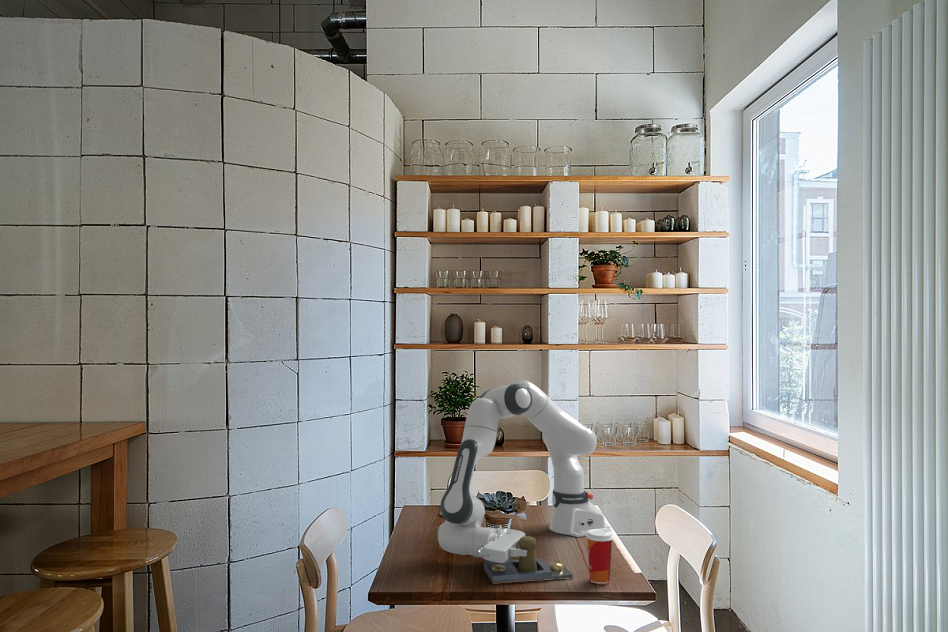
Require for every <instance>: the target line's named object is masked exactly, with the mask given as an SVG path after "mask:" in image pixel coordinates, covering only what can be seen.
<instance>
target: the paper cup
mask: <svg viewBox="0 0 948 632" xmlns="http://www.w3.org/2000/svg"><path fill="white" fill-rule="evenodd" d="M585 537H586V538H587V540H586V541H587V555H588V572H589V581H590V580H592V581H595V582H607V581H609V582H610V579H611V565H612V564H611V562H612V547H613V545H612V544H613V540H614V536H613V534H612V531H611V532H610V531H606V530H602V529H592V530H589V531H588V534H587V535H586V536H585Z"/></svg>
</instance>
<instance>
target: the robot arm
mask: <svg viewBox="0 0 948 632" xmlns="http://www.w3.org/2000/svg"><path fill="white" fill-rule="evenodd" d="M467 411H468V412H467V415H466V418H465V423H464V428H463V432H462V433H463V434H462V438H461V443H460V445H459V448H458V451H457V453H456V458H455V461H454V465H453V469H452V474H451V476H450V477H451V478H450V481H449V485H448V487H447V489H446V490H445V492H444V494H443V495H442V498H441V500H440V505H439V507H440V512H441V513H442V515H441V516H442V518H443V519H444V520H445V521H444V522H443V523H441V524H440V525H439V527H438V530H437V542H438V544H439V547H440V548H441V549H442V550H443V551H446V552H448V553H452V554H456V555H461V556H466V555H467V556H469V555H470V556H473V557H475V558H482V559H484V560H485V561H487V562H496V563H505V562H506V561H509V560H510V558H513V557H515V558H516V557H520V556H524V557H525V556H527V554H528V550H527V549H523V548H522V549H521V548H520V546H519V540H520V538H521V537H524V536H526V533H525V532H523V531H521V530H519V529H512V528H505V527H504V528H503V527H502V526H501V525H494V526H490V527H483V526H482V525H483V523H484V519H485V516H486V515H485V513H486V508H485V505H484V503H483V502H482V500H481V499H480V498H478V497H476V496H475V495H472V494H471V490H470V489H471V483H472V479H473V474H474V472H475V468H476V467H475V466H476V464H477V462H478V461H479V460H481V459H482V458H485V457H487V456H489V455H490V454H491V453H493V450H494V447H495V445H496V441H497V436H498V427H499V425H498V424H499V421H500V420H502V419H509V418H511V417H515V416H521V415H523V417H525V418H526V419H527V420H528V421H529V422H530V423H531V424H532V425H533V426H534V427H535V428H537V430H538V431H540V432H542V434H541V435H542V440H543V442H544V444H545V446H546V447H547V449H548V453H549V456H550V459H551V462H552V468H553V490H552V495H551V497H552V499H551V503H552V514H551V520H550V524H549V531H551V532H554V533H556V534H561V535H567V536H571V537H575V538H576V537H577V538H580V537H586V535H587V534H588V531H589V530H592V529H602V530H606V531H611V532H612V529H610V528H611V526H610V525H609V524H608V523H606V521H605V517H604V514H603V512H602V511H601V510H600V509H599V508H598V507H596V506H595V505H594V504H593V503H592V502H591V501H589V500H593V498H594V495H593V494H592V493H591V492H587V491H586V490H585V488H584V487H585V483H584V482H585V475H584V474H585V473H584V468H583V466H582V465H581V463H580V461H579V460H578V457H586V456H590V455H591V454H593V453H594V451H595V450H596V449H597V448H596V447H597V444H598V439H597V435H596V434H595V432H594V431H593V430H592V429H590V428H588V427H587V426H585V425H584V424H582V423H581V422H580V421H578V420H577V419H575V418H574V417H573V416H571V415H570V414H568V413H567V412H566V411H564V410H563V409H562V408H561V407H559V406H558V405H557V404H556V403H555V402H554V401H553V400H552V399H551V398H550V397H549V396H548V395H547V394H546V393H545V392H544V391H543V390H542V389H541V388H539V386H537V385H535V384H534V383H533V382H531V381H529V380H519V381H518V382H516V383H513V384H508V385H502V386H498V387H495V388H493V389H488V390H485V391H484V392H483V393H482V394H481V395H480V396H479V398H475V399H474V400H473V401H472V402H471V404H470V406H469V409H468V410H467ZM484 515H485V516H484ZM607 524H608V525H609V526H608V525H607Z"/></svg>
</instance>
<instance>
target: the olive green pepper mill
mask: <svg viewBox="0 0 948 632" xmlns="http://www.w3.org/2000/svg"><path fill="white" fill-rule="evenodd" d="M519 546H520V549H522V548H523V549H527V550H528V554H527V556H525V557H524V556H519V559H518V560H519V566H518V570H517V571H518V572H526V571H538V570H537V565H536V559H537V557H536V550H535V549H536V547H537V540H536V538H534V537H533V536H528V535H527V536H526V535H525V536H524V537H521V538H520V540H519Z"/></svg>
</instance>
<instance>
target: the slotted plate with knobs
mask: <svg viewBox="0 0 948 632" xmlns="http://www.w3.org/2000/svg"><path fill="white" fill-rule="evenodd" d="M536 565H537V569H538V570H539V571H538V570H537V571H526V572H518V570H516V569H518V566H519V559H511V560H510V559H508V560H507V561H506V562H505V563H496V562H492V561H484V562H483V571H484V570H485V571H484V572H486V573H487V574H486V573H485V574H486V576H487V575H488V576H487V577H488V579H489V578H490V579H491V581H492V582H493V583H499V582H509V581H527V580H528V581H529V580H544V579H559V578H574V576H573V574H572V572H571V571H570V570H568V568H567V567H566V566H565V565H564V563H563V562H562V561H560V560H557V561H555V560H554V561H543V560H542V559H541V558H536ZM490 579H489V580H490ZM491 581H490V582H491ZM492 582H491V583H492Z"/></svg>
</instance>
